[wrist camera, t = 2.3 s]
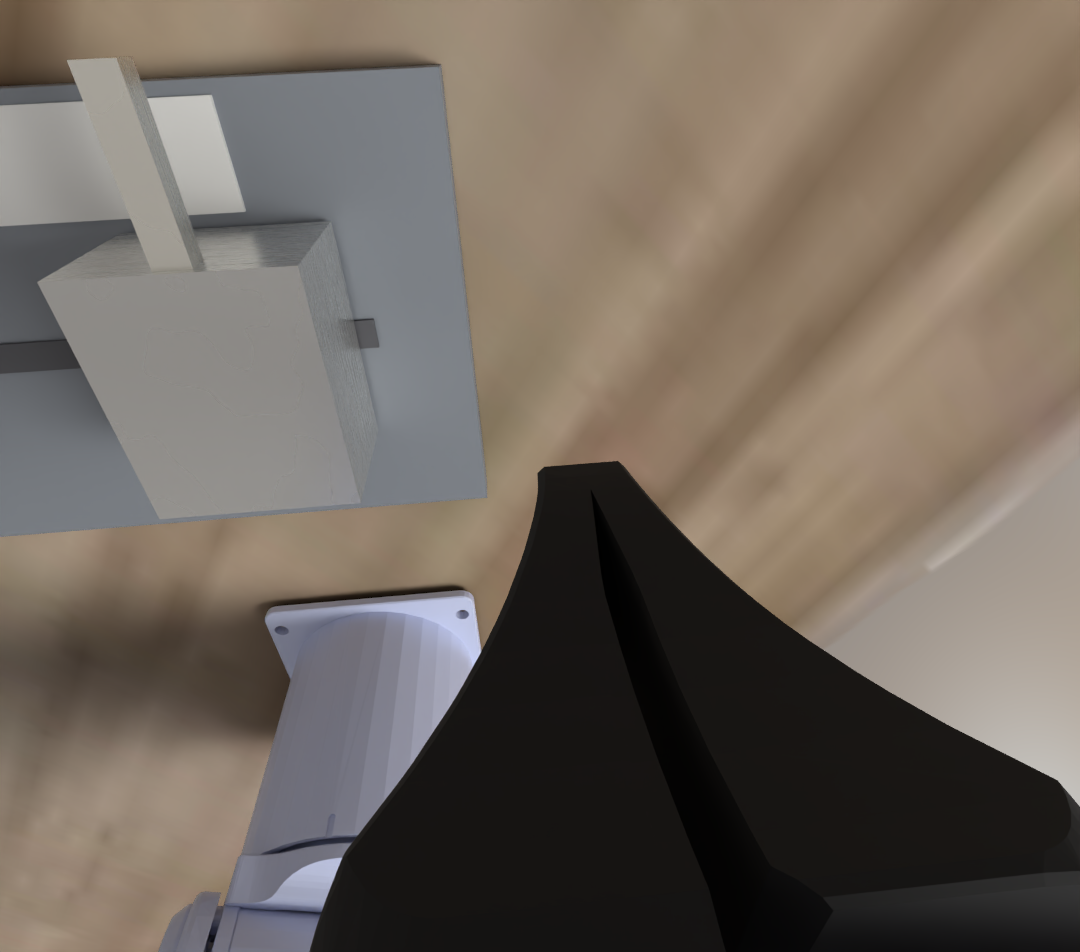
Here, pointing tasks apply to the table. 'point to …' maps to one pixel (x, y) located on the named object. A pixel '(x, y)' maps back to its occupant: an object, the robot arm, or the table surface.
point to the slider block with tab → (212, 336)
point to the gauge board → (228, 201)
